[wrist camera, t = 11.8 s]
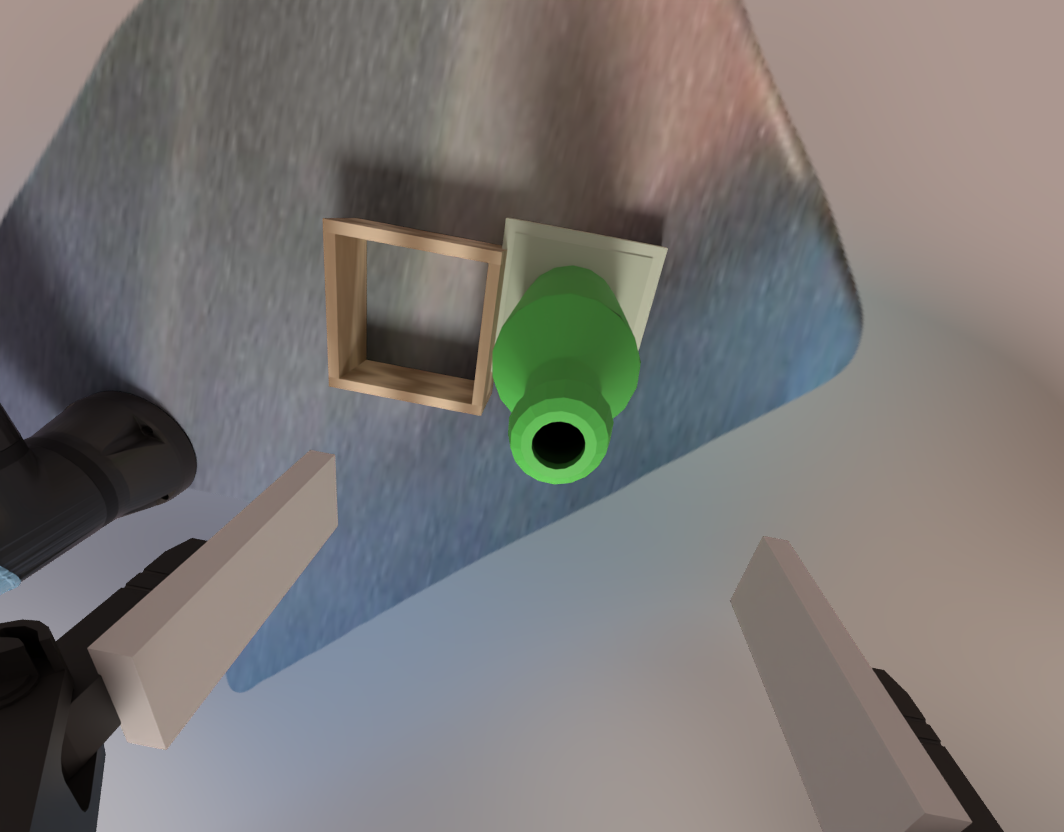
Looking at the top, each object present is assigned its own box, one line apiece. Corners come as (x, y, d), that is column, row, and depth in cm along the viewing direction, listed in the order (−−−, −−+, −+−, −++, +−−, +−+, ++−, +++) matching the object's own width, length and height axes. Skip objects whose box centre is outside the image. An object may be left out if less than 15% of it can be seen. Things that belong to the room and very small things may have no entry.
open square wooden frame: (357, 366, 47) (329, 386, 42) (356, 217, 41) (322, 218, 35) (491, 392, 47) (480, 415, 42) (512, 247, 41) (502, 252, 35)
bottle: (568, 241, 37) (557, 283, 14) (637, 312, 39) (722, 446, 16) (502, 316, 40) (407, 446, 18) (568, 378, 42) (559, 566, 20)
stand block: (491, 361, 46) (485, 371, 43) (510, 217, 40) (505, 217, 37) (622, 386, 45) (625, 398, 43) (661, 246, 39) (668, 248, 36)
